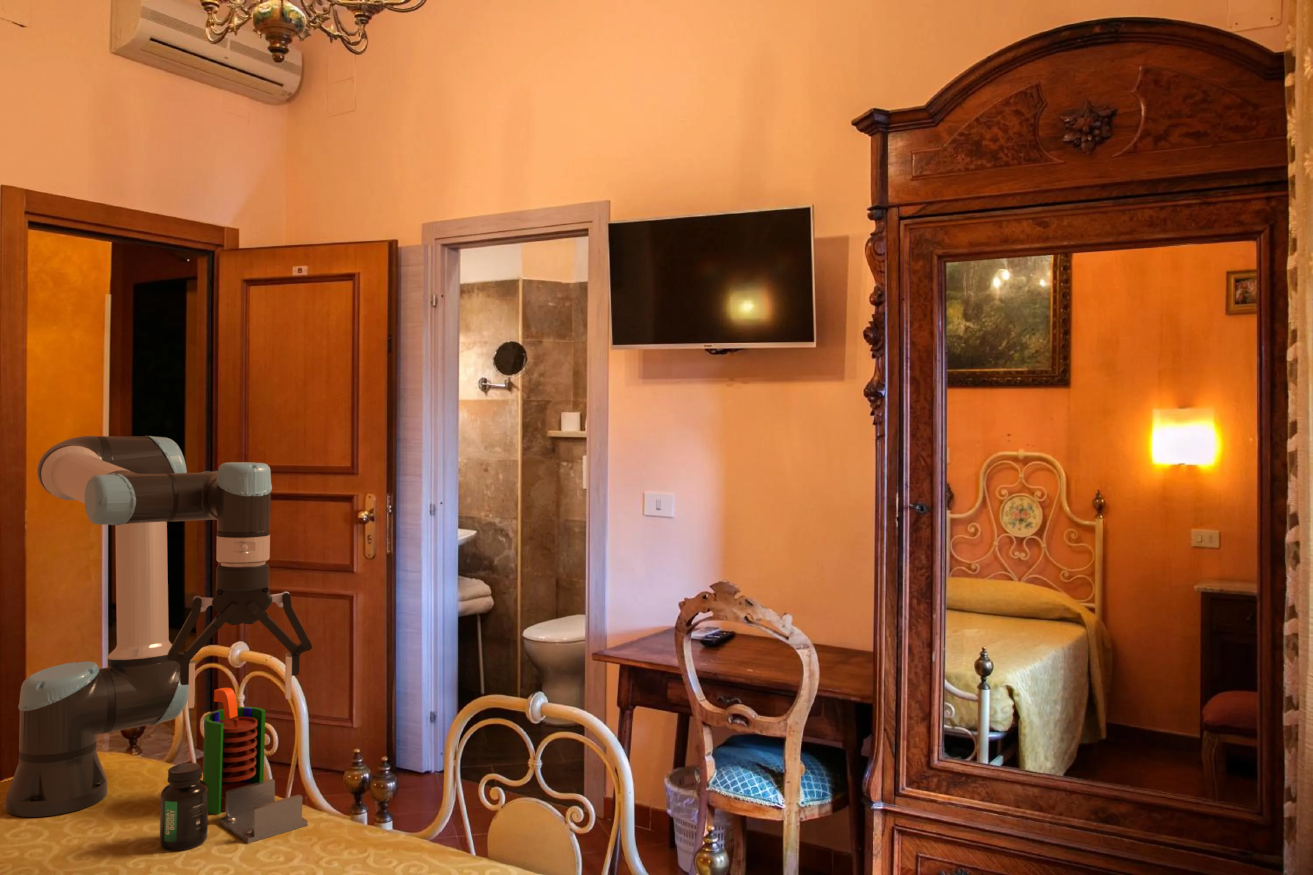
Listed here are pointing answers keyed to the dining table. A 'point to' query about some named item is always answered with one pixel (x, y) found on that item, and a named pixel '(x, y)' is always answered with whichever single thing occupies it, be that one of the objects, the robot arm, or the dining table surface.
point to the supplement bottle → (184, 808)
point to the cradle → (261, 812)
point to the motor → (232, 748)
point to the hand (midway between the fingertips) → (240, 701)
